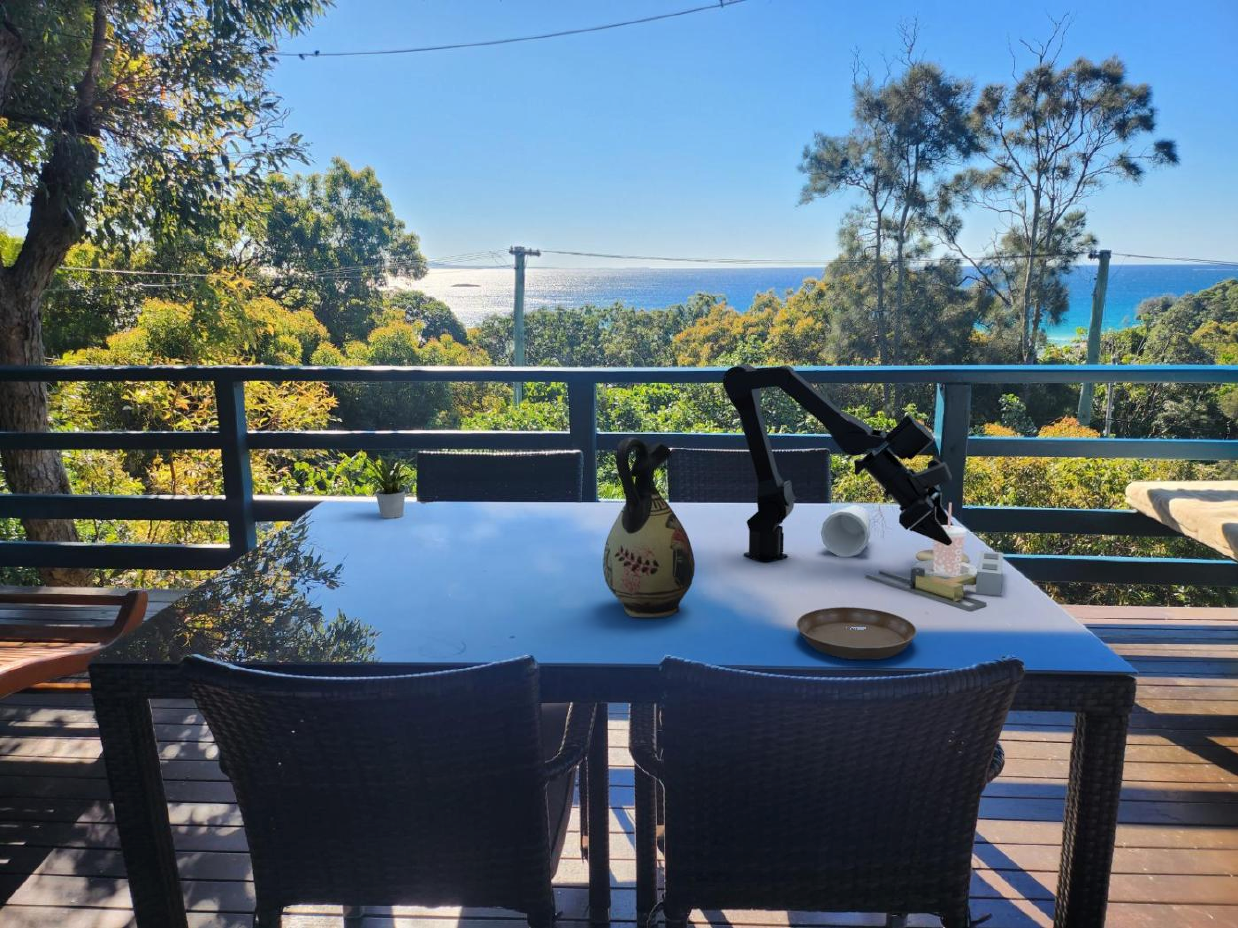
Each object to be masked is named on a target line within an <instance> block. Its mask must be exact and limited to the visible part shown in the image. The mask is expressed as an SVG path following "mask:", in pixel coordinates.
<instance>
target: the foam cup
mask: <svg viewBox="0 0 1238 928" xmlns="http://www.w3.org/2000/svg"><path fill="white" fill-rule="evenodd" d="M820 535H821V540H822V543H823V545H824V546H825V548H826V549H827V550H828V551H829V552H830V553H833V554H834V555H836V556H837V557H842V558H845V557H846V558H851V557H854V556H856V555H859V554H860V553H862V551H863V550H864V549H865V548H867V545H868V543H869V540H870V536H871V518H870V514H869V512H868V511H867V510H866V509H865V508H863V507H862V506H860V505H854V504H853V505H852V504H851V505H850V506H847V507H845V508H841V509H839V510H836V511H834V512H832V513H830V514H829V516H828V517H827V518H826V519H825V520H824V521H823V523H822V527H821V531H820Z"/></svg>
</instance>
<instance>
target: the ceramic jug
mask: <svg viewBox="0 0 1238 928" xmlns="http://www.w3.org/2000/svg"><path fill="white" fill-rule="evenodd" d="M633 451H635V452H634V455H635V456H634V457H635V458H634V461H633V464H632V467H631V466H630V461H629V460H630V453H632V452H633ZM671 456H672V451H671V449H670V448H669V447H668V446H667V445H665V444H664V443H661V442H656V443H655V444H653V445H651V446H649V444H648V443H647V442H645V441H643V440H642V439H639V438H637V437H633V436H631V437H630V436H629V437H625V438H624V439H622V440H620V442H619V443H618V444H617V446H616V450H615V465H616V470H617V472H618V478H619V479H620V483H621V485H622V489H623V490H622V491H623V494H624V496H625V504H624V506H623V507H622V509H621V510H620V512H619V514H618V516H617V518H616V519H615V521H614V523H613V525H612V526H611V529H610V530H609V534H608V536H607V538H606V542H605V545H604V551H603V559H602V571H603V576H604V580H605V583H606V585H607V587H608V588H609V590H610V591H611V592H612V594H613V595H614V596H615V598H616V599H618V601H619V602H620V603H621V604H622V606H623V607H622V608H623V610H624V612H625V614H627V615H628V616H629V617H631V618H666V617H669V616H673V615H675V614H677V613H679V612H680V608H679V605H680V603H681V602H682V600H683V598H684V597H685V595H686V594H687V593H688V591H689V590H690V588H691V586H692V585H693V579H694V576H695V567H696V566H695V565H696V564H695V557H694V552H693V548H692V545H691V542H690V539H689V538H690V537H689V536H688V533H687V532H686V530H685V528H684V526H683V525H682V522H681V521H680V520H679V519H678V517H677V515H676V514H675V512H674V510H673V509H672V508H671V506H670V505H669V504H668V502H667V501H666V500H665V498H664V497H662V495H661V493H660V491H659V490H658V488H657V487H656V483H655V481H654V474H655V471H656V470H657V469H658V468H659V467H660V466H661V465H663V463H665V462H666V461H668V460H669V459H670V458H671Z"/></svg>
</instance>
